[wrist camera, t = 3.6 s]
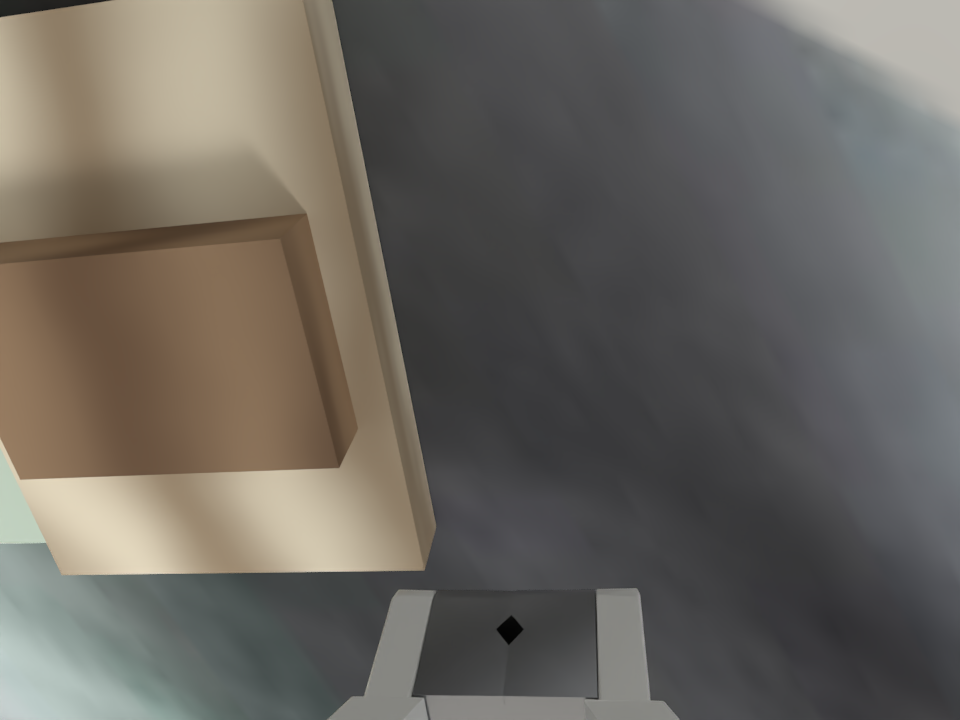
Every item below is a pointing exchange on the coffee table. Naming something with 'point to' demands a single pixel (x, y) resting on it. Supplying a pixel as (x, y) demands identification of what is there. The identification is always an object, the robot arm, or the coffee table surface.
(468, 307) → the coffee table surface
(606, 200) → the coffee table surface
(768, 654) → the coffee table surface
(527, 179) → the coffee table surface
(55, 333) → the coaster
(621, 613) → the robot arm
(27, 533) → the mat
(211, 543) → the deck
